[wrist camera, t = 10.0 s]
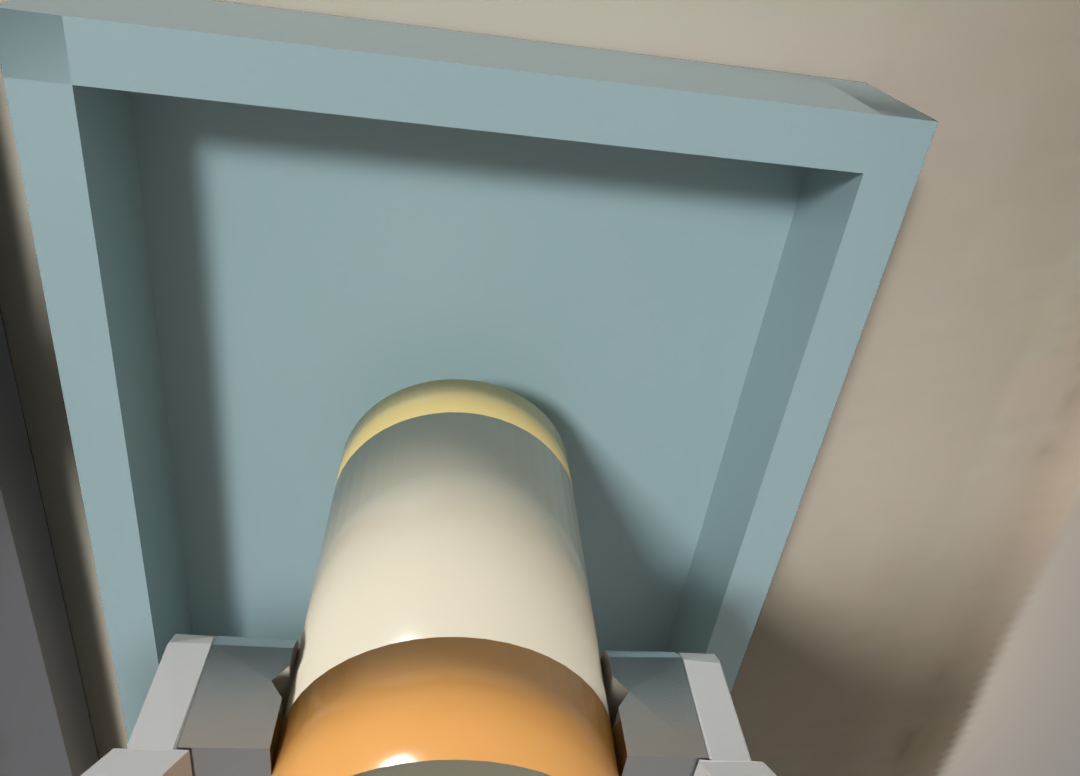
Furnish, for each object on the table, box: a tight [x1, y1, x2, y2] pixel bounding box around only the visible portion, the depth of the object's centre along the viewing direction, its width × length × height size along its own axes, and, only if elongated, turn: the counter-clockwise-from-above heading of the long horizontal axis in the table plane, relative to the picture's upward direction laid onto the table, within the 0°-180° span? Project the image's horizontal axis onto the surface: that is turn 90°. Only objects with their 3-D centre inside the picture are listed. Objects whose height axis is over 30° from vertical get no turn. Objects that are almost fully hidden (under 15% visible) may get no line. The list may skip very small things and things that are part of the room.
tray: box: [0, 0, 938, 742], centre depth 15 cm, size 14×12×2 cm
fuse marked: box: [272, 379, 619, 776], centre depth 11 cm, size 4×4×10 cm
